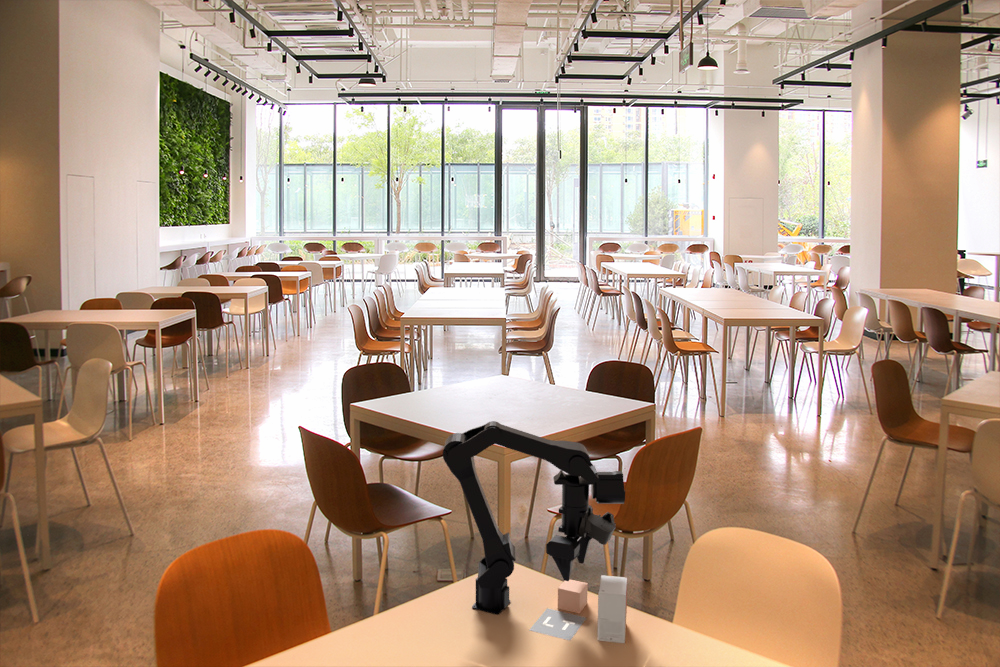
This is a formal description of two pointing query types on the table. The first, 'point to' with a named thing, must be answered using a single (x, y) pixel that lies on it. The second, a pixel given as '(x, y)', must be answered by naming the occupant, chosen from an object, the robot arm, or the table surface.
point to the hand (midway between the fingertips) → (574, 571)
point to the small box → (612, 609)
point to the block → (572, 596)
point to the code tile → (558, 624)
